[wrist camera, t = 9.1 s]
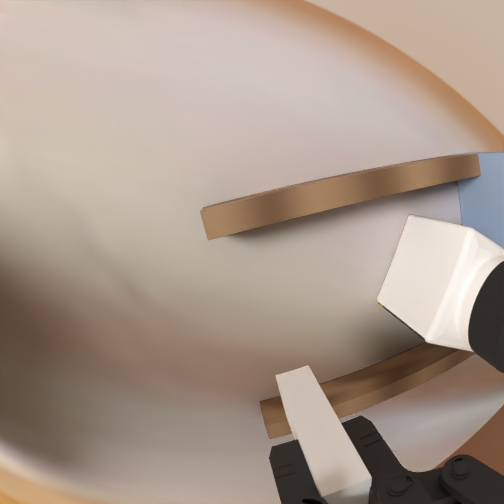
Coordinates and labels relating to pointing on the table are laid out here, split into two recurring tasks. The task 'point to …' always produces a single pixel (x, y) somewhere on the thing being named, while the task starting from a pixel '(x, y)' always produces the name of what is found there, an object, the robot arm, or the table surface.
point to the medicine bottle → (448, 287)
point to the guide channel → (329, 197)
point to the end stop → (485, 197)
